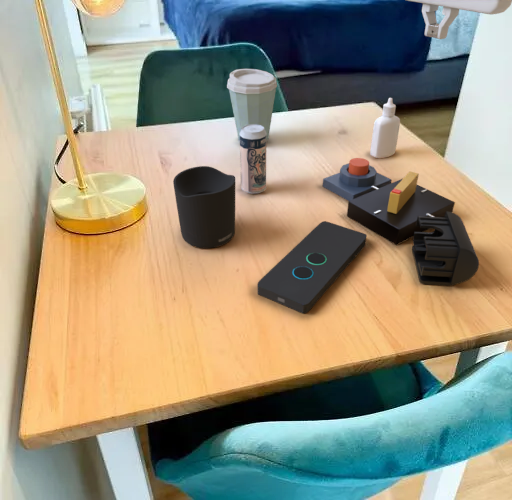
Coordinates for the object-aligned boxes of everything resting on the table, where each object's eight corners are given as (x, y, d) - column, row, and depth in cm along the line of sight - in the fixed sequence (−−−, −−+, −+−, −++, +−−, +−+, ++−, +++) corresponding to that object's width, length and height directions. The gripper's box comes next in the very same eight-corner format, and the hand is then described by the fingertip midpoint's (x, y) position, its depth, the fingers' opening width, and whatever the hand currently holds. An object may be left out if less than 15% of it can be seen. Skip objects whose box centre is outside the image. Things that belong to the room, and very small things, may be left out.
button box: (359, 172, 101) (361, 156, 99) (390, 187, 95) (393, 170, 93) (322, 186, 96) (323, 169, 94) (352, 203, 91) (354, 186, 89)
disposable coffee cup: (280, 134, 117) (282, 68, 108) (271, 154, 108) (272, 83, 99) (236, 131, 119) (234, 65, 110) (223, 149, 110) (220, 80, 101)
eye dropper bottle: (367, 150, 109) (374, 94, 102) (393, 149, 109) (402, 94, 102) (371, 158, 106) (378, 102, 99) (398, 158, 106) (407, 101, 99)
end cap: (472, 289, 71) (484, 250, 67) (420, 286, 71) (429, 247, 67) (457, 249, 79) (467, 211, 75) (410, 246, 79) (418, 209, 76)
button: (357, 166, 96) (359, 156, 95) (372, 173, 93) (373, 162, 92) (344, 171, 94) (345, 161, 93) (358, 178, 92) (359, 168, 91)
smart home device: (254, 283, 69) (322, 219, 83) (254, 293, 70) (321, 228, 84) (307, 305, 66) (369, 234, 79) (306, 315, 67) (368, 243, 80)
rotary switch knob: (406, 189, 88) (410, 169, 86) (415, 191, 88) (419, 172, 85) (386, 211, 82) (390, 191, 80) (396, 214, 82) (400, 193, 79)
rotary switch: (396, 190, 94) (398, 175, 93) (456, 220, 86) (460, 203, 84) (342, 213, 88) (343, 197, 86) (401, 248, 79) (405, 231, 77)
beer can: (254, 198, 92) (253, 135, 85) (235, 189, 95) (233, 128, 88) (271, 188, 95) (272, 127, 88) (253, 181, 98) (252, 121, 91)
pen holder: (180, 253, 78) (174, 197, 72) (178, 221, 86) (172, 168, 80) (240, 247, 79) (239, 191, 74) (233, 217, 87) (231, 163, 81)
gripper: (539, -66, 65) (508, 47, 73) (411, -72, 78) (398, 23, 86) (511, -64, 62) (483, 54, 70) (384, -71, 75) (372, 28, 83)
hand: (435, 37), depth 78 cm, fingers closed
